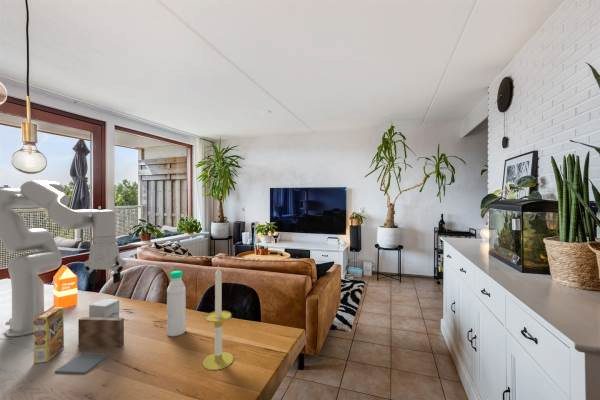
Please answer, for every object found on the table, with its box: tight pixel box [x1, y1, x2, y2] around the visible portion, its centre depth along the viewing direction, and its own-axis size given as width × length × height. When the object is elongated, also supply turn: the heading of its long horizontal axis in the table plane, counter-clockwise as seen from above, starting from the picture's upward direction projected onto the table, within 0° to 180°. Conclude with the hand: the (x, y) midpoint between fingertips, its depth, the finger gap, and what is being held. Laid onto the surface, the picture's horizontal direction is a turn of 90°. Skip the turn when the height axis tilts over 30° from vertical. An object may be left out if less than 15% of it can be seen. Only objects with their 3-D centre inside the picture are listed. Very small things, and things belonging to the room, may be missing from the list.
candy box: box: [33, 306, 65, 364], centre depth 94 cm, size 9×4×15 cm, turn 13°
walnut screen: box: [77, 316, 125, 349], centre depth 101 cm, size 16×2×10 cm, turn 87°
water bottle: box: [166, 270, 187, 337], centre depth 111 cm, size 7×7×25 cm
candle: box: [202, 264, 234, 371], centre depth 91 cm, size 10×10×32 cm
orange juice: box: [52, 264, 78, 309], centre depth 140 cm, size 8×9×20 cm
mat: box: [54, 352, 111, 375], centre depth 90 cm, size 10×10×1 cm
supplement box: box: [88, 298, 120, 318], centre depth 110 cm, size 7×7×13 cm
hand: (105, 282), depth 110 cm, fingers open, 9 cm apart
